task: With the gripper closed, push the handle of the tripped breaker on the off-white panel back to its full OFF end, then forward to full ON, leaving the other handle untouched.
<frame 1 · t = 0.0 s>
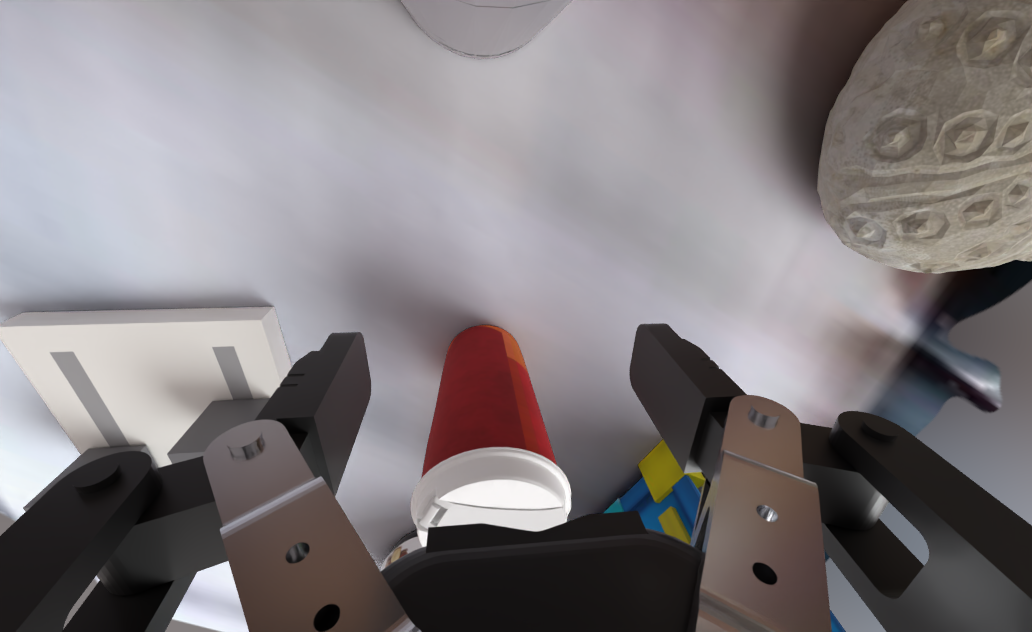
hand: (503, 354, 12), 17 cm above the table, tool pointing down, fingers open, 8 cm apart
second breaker: (99, 488, 29), point 5 cm above the table, slide at 4.0 cm
coffee cup: (484, 355, 32), on the table
decorative book: (639, 506, 44), on the table
spread jar: (434, 555, 45), on the table
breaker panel: (193, 399, 31), on the table
decorative shell: (908, 118, 27), on the table
tripped breaker: (230, 439, 28), point 5 cm above the table, slide at 0.0 cm
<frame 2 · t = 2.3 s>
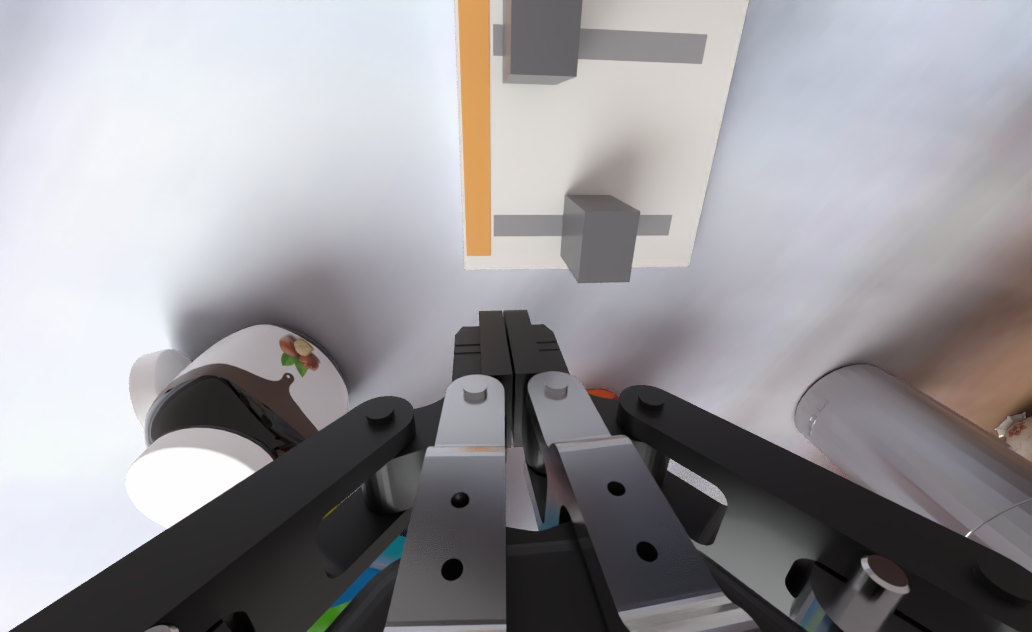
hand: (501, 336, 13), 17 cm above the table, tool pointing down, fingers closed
chinaware: (963, 483, 48), on the table
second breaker: (537, 32, 19), point 5 cm above the table, slide at 4.0 cm
decorative book: (380, 549, 42), on the table
spread jar: (264, 371, 31), on the table
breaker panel: (583, 141, 26), on the table
tripped breaker: (595, 236, 24), point 5 cm above the table, slide at 0.0 cm
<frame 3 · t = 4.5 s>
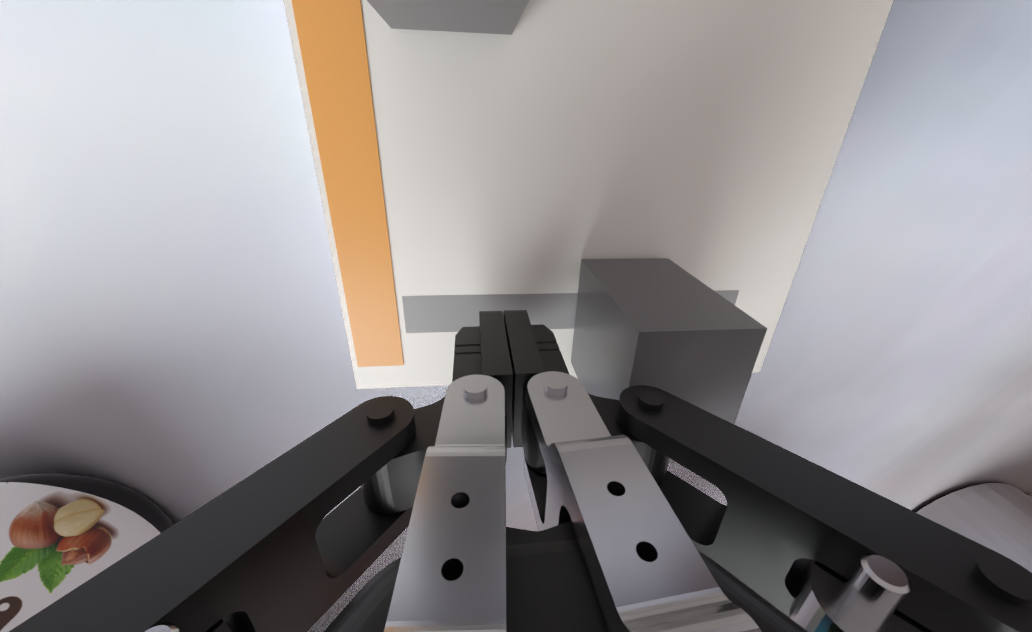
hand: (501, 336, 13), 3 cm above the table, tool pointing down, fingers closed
spread jar: (51, 527, 19), on the table
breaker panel: (576, 155, 14), on the table
tripped breaker: (644, 349, 12), point 5 cm above the table, slide at -1.4 cm, touching gripper
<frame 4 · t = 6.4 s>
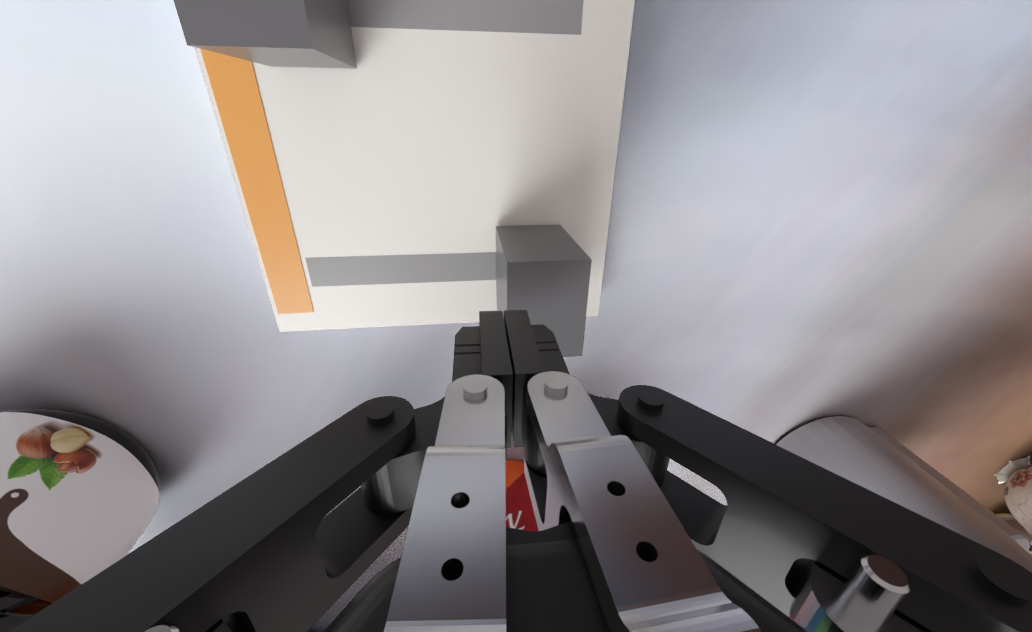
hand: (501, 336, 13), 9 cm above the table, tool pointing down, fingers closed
chinaware: (955, 532, 41), on the table
coffee cup: (502, 486, 29), on the table
spread jar: (48, 460, 23), on the table
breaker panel: (435, 150, 18), on the table
tripped breaker: (535, 286, 17), point 5 cm above the table, slide at -4.1 cm
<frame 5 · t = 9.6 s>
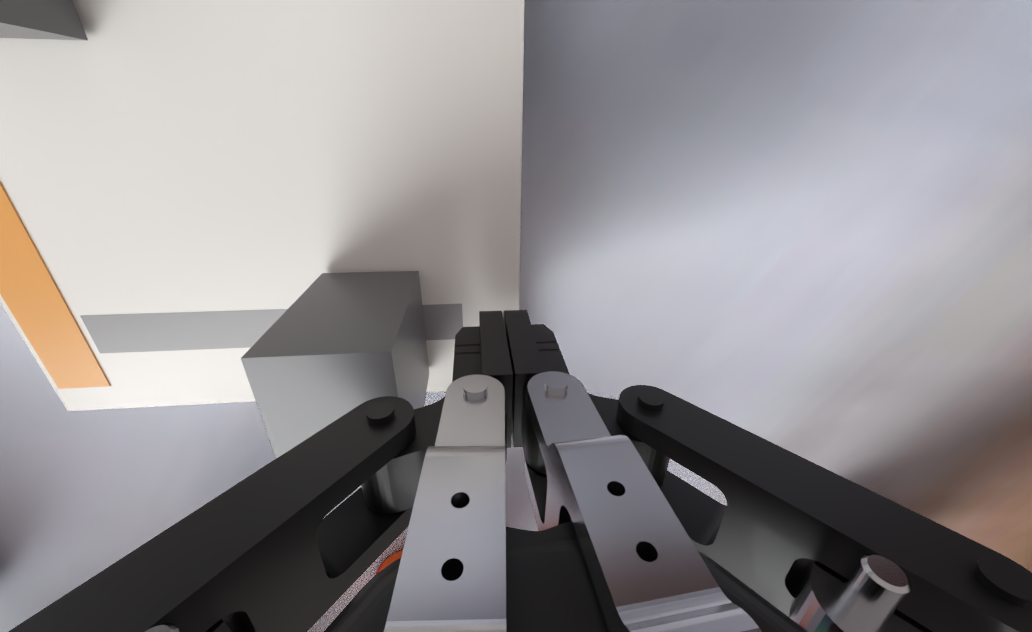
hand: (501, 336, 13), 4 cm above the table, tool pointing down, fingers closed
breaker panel: (272, 164, 13), on the table
tripped breaker: (362, 368, 11), point 5 cm above the table, slide at -3.2 cm, touching gripper
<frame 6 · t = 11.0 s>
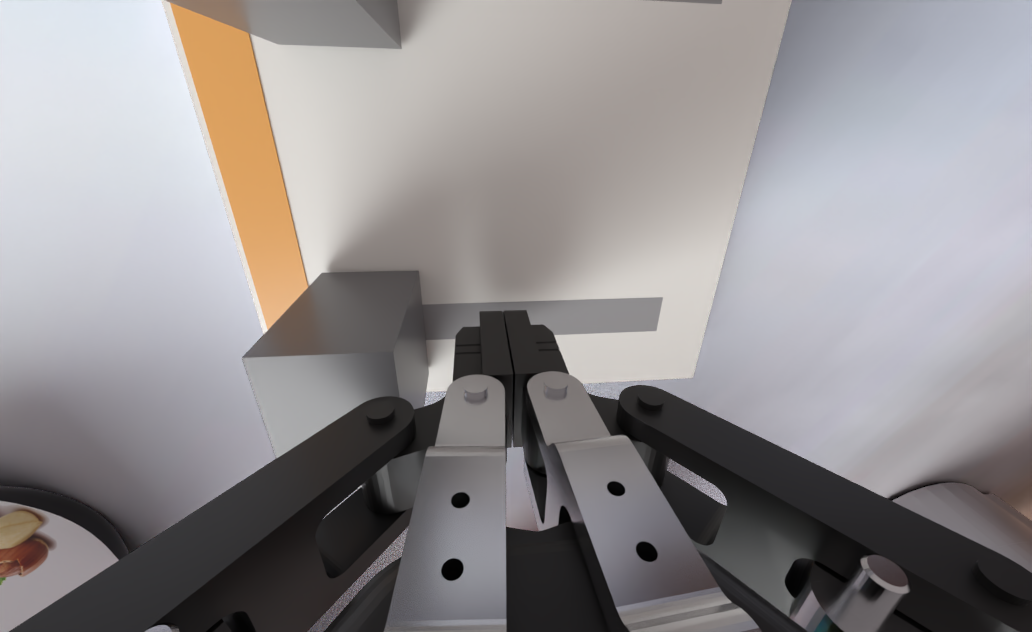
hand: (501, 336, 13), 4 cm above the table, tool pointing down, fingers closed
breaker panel: (494, 165, 14), on the table
tripped breaker: (362, 367, 11), point 5 cm above the table, slide at 4.1 cm, touching gripper
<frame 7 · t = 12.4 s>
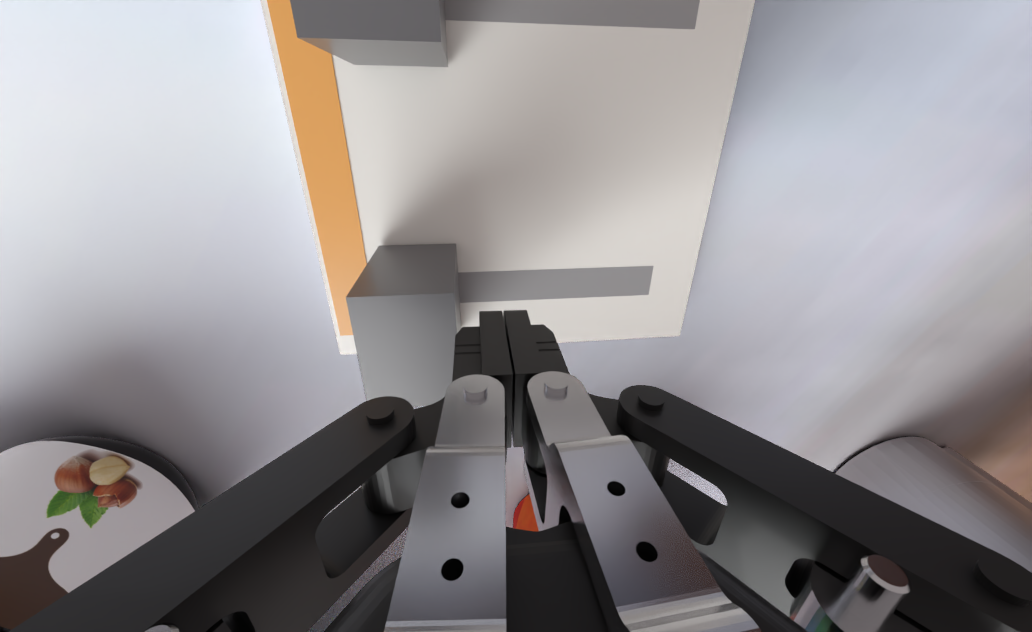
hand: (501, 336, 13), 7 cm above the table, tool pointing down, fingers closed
coffee cup: (554, 511, 28), on the table
spread jar: (80, 487, 22), on the table
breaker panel: (514, 157, 17), on the table
tripped breaker: (416, 318, 14), point 5 cm above the table, slide at 4.1 cm
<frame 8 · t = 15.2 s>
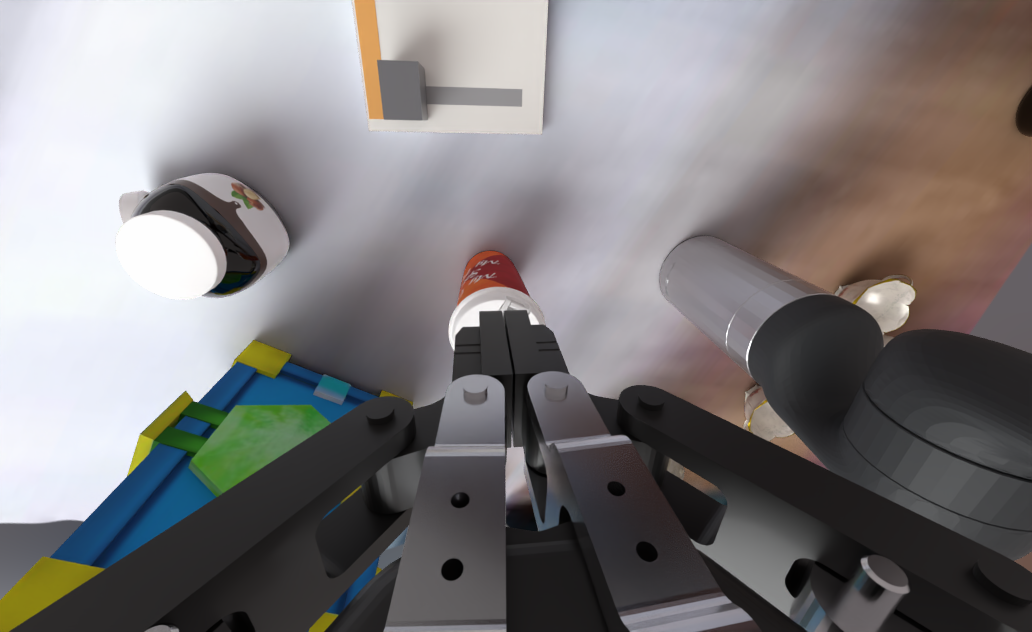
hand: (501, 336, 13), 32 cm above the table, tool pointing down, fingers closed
chinaware: (812, 355, 56), on the table
coffee cup: (489, 275, 46), on the table
decorative book: (328, 401, 51), on the table
spread jar: (225, 224, 40), on the table
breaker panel: (453, 32, 35), on the table
tripped breaker: (405, 93, 33), point 5 cm above the table, slide at 4.1 cm
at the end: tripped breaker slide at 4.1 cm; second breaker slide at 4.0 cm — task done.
